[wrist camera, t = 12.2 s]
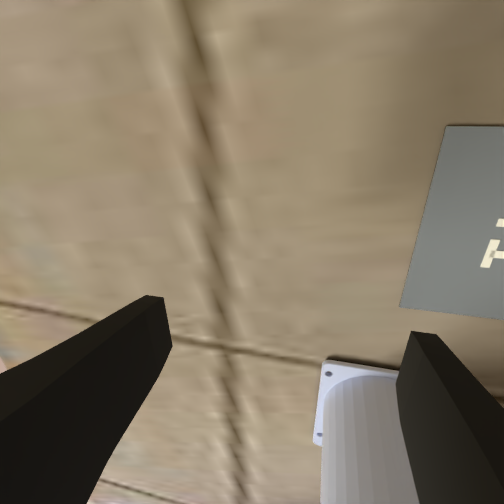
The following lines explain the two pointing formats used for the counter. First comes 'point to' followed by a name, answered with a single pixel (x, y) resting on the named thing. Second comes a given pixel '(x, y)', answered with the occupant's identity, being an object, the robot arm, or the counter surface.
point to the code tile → (462, 229)
